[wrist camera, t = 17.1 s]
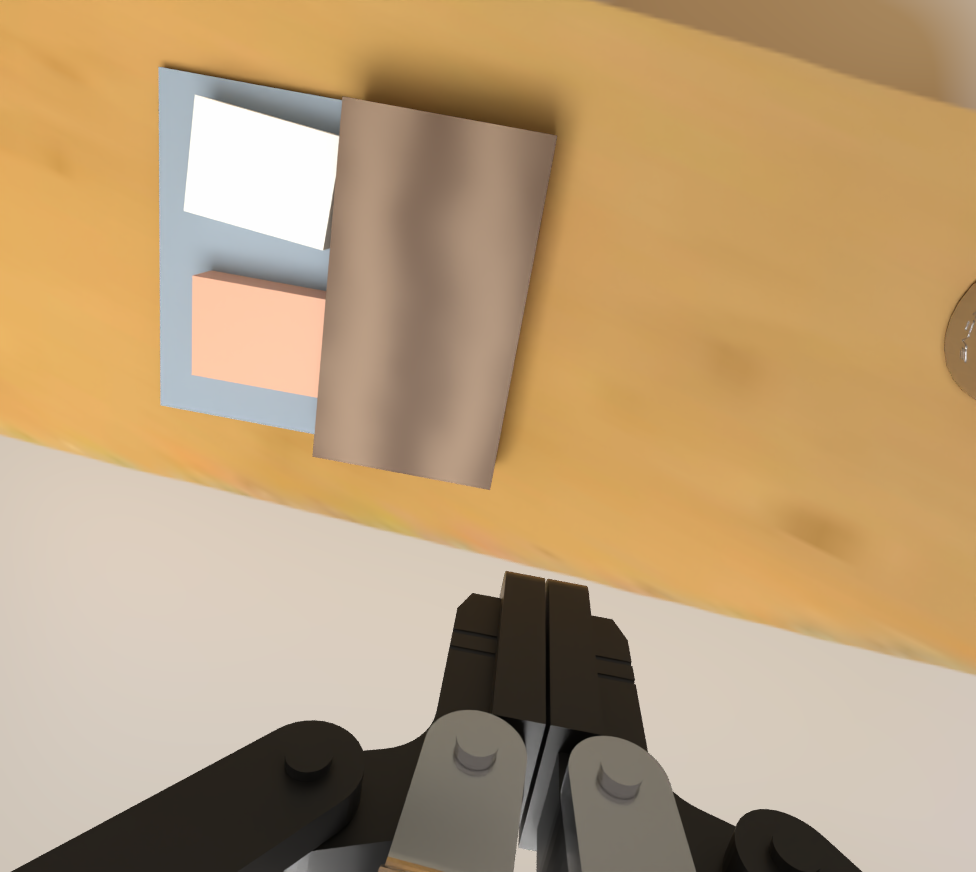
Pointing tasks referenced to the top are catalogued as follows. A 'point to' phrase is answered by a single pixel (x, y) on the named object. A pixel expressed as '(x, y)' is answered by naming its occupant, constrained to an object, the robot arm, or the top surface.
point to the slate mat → (225, 249)
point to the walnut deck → (426, 288)
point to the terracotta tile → (257, 332)
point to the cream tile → (261, 173)
